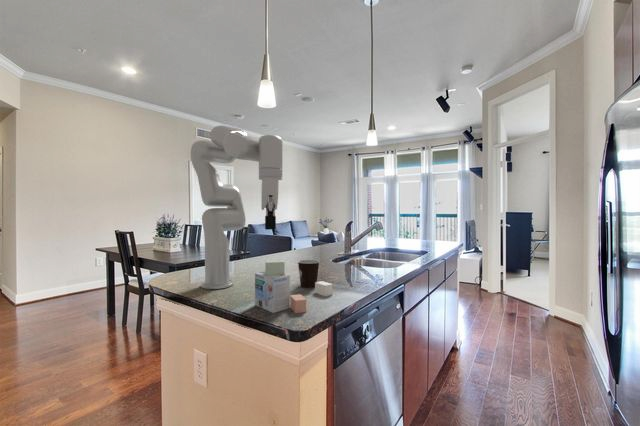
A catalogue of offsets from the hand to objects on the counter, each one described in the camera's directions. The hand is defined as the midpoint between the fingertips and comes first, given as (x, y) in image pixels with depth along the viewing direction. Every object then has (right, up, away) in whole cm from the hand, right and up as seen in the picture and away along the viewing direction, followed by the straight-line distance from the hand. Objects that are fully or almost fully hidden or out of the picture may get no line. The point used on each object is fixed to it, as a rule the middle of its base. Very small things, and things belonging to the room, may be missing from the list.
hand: (270, 228), depth 100 cm
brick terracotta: (+9, -26, -2) cm, 27 cm away
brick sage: (+1, -15, 0) cm, 15 cm away
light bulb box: (+1, -26, 0) cm, 26 cm away
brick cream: (+17, -25, +15) cm, 34 cm away
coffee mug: (+11, -25, +27) cm, 39 cm away
